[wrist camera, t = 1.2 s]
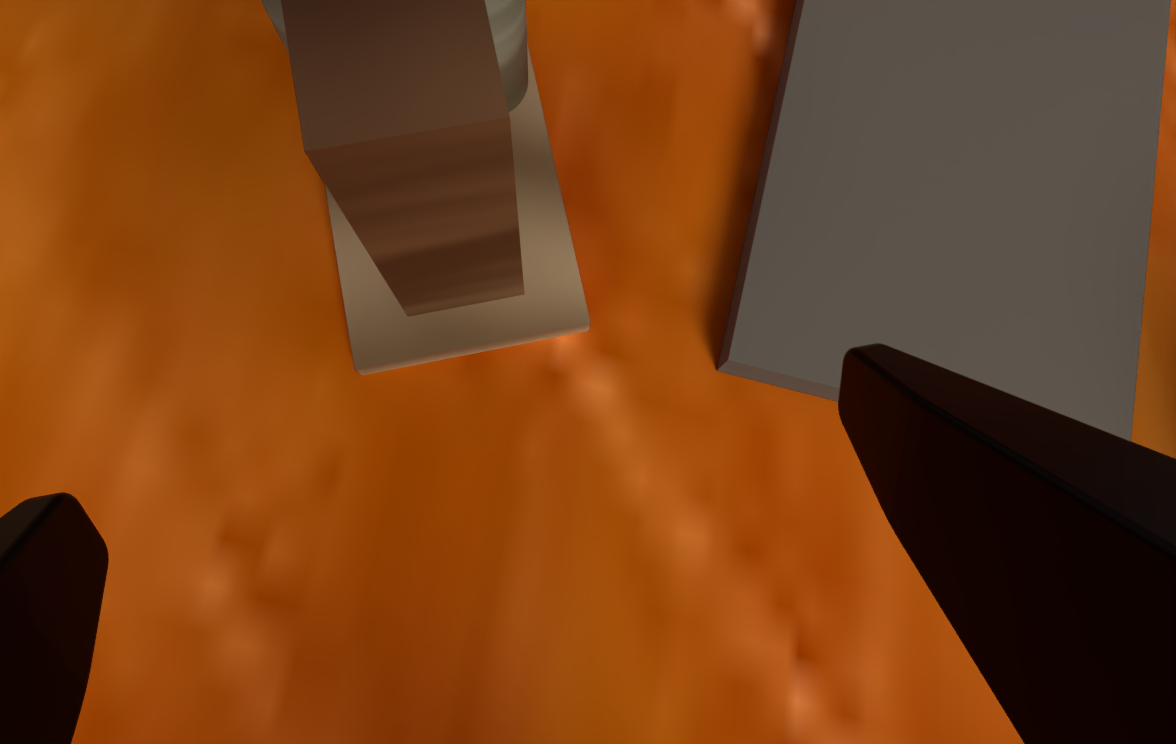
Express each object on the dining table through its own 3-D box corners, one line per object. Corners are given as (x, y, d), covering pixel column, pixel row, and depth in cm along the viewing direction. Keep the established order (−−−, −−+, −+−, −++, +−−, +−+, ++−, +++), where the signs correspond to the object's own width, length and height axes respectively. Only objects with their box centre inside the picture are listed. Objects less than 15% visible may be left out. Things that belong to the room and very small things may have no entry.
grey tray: (1092, 466, 24) (1170, 456, 21) (717, 370, 24) (741, 347, 21) (1140, -3, 28) (1211, -67, 25) (814, -86, 27) (847, -161, 25)
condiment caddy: (588, 331, 24) (624, 165, 13) (362, 375, 23) (206, 239, 13) (519, 23, 26) (502, -337, 15) (310, 55, 25) (138, -297, 15)
